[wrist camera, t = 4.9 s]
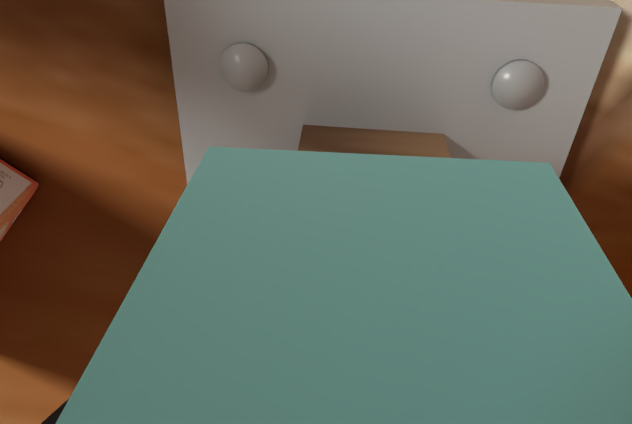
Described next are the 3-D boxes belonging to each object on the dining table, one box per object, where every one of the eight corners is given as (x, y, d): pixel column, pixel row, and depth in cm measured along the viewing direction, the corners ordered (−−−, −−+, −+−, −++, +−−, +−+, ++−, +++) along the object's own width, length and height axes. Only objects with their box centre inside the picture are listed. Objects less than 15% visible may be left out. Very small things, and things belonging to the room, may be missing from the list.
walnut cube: (300, 234, 21) (286, 326, 17) (303, 124, 18) (287, 202, 14) (420, 243, 21) (436, 338, 17) (443, 133, 18) (469, 216, 14)
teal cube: (235, 362, 10) (151, 684, 6) (208, 146, 8) (24, 480, 4) (481, 380, 10) (558, 731, 6) (549, 162, 7) (784, 548, 3)
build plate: (207, 288, 24) (200, 308, 23) (171, -25, 16) (158, -17, 15) (498, 311, 24) (505, 332, 23) (609, 0, 16) (627, 10, 15)
